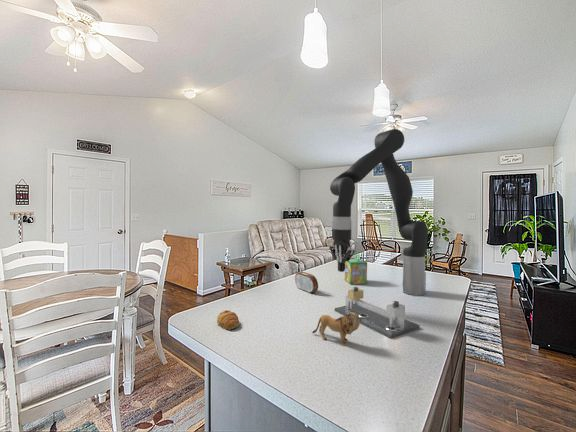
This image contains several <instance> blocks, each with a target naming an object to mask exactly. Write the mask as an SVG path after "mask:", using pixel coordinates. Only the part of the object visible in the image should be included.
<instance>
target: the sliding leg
mask: <svg viewBox="0 0 576 432" xmlns="http://www.w3.org/2000/svg"><path fill="white" fill-rule="evenodd" d="M347 296H348V298H349V299H350V309H353V304H354V303H353V300H357V299H360V300H362V299H364V289H360V288H359V287H358V286H353V288H352V289H347Z"/></svg>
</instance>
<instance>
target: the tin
mask: <svg viewBox="0 0 576 432" xmlns="http://www.w3.org/2000/svg"><path fill="white" fill-rule="evenodd" d="M294 280H295V281H294V283H295V284H296V287H297V289H299V290H301V291H304V292H306V293H308V294H313V293H316V292H317V291H318V290H319V283H318V279H317V277H316V276H315V275H314V274H311V273H308V272H306V271H302V270H301V271H299V272H297V273H295V275H294Z"/></svg>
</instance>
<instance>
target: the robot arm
mask: <svg viewBox="0 0 576 432" xmlns="http://www.w3.org/2000/svg"><path fill="white" fill-rule="evenodd" d="M373 143H374V149H372V150H371V151H369V152H368V153H366V154H365V155H363V156H362V157H360V158H358V159H357V161H355V162H354V163H353V164H352V165H351V166H349V168H348V169H347V170H345V171H344V172H342V173H340V174H339V175H338V176H336V177H335V178H334V179H333V180H332V181H331V183H330V185H329V190H330V192H331V194H332V195H334V196H337V197H338V199H337V201H336V202H334V203H333V206H332V222H331V223H332V224H331V225H332V226H331V231H332V232H331V238H332V241H333V242H332V243H333V244H332V245H331V246H329V251H330V253H331V256H332V257H333V259H334V260H335V261H336V262H337V272H340V273H342V272H343V273H345V262H347V261H349V260H350V259H352V258H353V256H354V254H355V251H356V250H355V249H352V248H351V243H350V241H351V240H352V217H351V216H352V204H353V201H354V198H355V197H354V196H355V192H356V185H355V184H357V183H359V182H361V181H362V180H363V179H364V178H366V177H367V175H368V174H370V173H371V172H372V171H373V170H374V169H375V168H376V167H377V166H378V165H379V164H381V166H382V168H383V173H384V175H385V179H386V182H387V185H388V189H389V193H390V197H391V200H392V203H393V207H394V211H395V215H396V220H397V226H398V232H399V235H400V236H401V238H402V239H404V240H406V241H411V245H410V246H408V247H405V248H403V250H402V293H404V294H407V295H410V296H423V295H425V293H427V292H426V291H427V289H426V287H427V285H426V284H427V277H426V276H427V272H426V251H427V250H428V249H427V248H428V236H429V230H428V225H427V224H426V222H425V221H422V220H412V218H411V215H410V204H411V201H412V199H413V194H414V193H413V192H414V191H413V186H412V183H411V179H410V177H409V175H408V174H407V173H406V172H405V171H404V169H403V168H402V167H401V166H400V165H399V164H398V162H397V161H396V159H395V155H394V154H395V153H396V152H397V151H399V150H401V148H402V147H403V146H404V143H405V136H404V133H403V131H401V130H400V129H398V128H393V129H388V130H386V131H383V132H379V133H377V134H376V136H375V137H374V142H373Z"/></svg>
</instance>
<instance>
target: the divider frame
mask: <svg viewBox="0 0 576 432" xmlns="http://www.w3.org/2000/svg"><path fill="white" fill-rule="evenodd" d="M353 304H356V305H359V306H361V307H364V308H366V309H368V310H371V311H373V312H375V313H378V314H380V315H383V316H385V317H387V318H390V325H389V326H390V327H393V320H394V321H396V328H397V329H398V330H400V331H401V330H404V319H405V317H404V316H405V315H406V305H404V304H401V303H400V302H399V301H398V300H392V303H391V304H388V305H386V309H385V308H382V307H379V306H378V305H375V304H372V303H370V302H366V301H364V300H362V299H357V300H353ZM345 306H347V307H350V299H349V298H348V295H345Z"/></svg>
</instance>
